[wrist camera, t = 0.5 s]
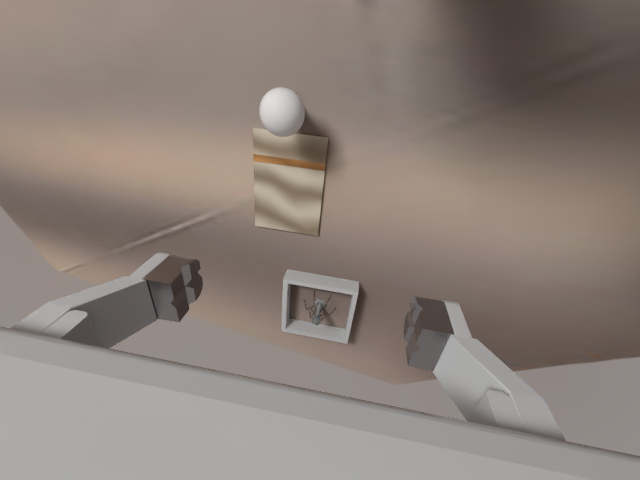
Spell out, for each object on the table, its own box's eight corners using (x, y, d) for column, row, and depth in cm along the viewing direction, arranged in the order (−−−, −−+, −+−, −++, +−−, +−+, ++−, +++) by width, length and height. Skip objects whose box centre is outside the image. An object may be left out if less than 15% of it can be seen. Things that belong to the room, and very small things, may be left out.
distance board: (254, 127, 49) (252, 128, 49) (328, 137, 48) (328, 138, 48) (256, 224, 59) (255, 226, 59) (318, 234, 58) (317, 236, 57)
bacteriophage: (305, 287, 66) (299, 308, 60) (339, 296, 66) (336, 317, 60) (301, 309, 69) (295, 330, 64) (333, 317, 69) (330, 339, 63)
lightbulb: (279, 129, 49) (257, 142, 39) (273, 87, 46) (247, 90, 36) (316, 126, 48) (302, 139, 38) (312, 83, 45) (296, 85, 35)
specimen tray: (287, 269, 64) (283, 278, 61) (359, 281, 62) (358, 292, 59) (285, 320, 72) (281, 331, 69) (348, 332, 71) (347, 343, 68)
